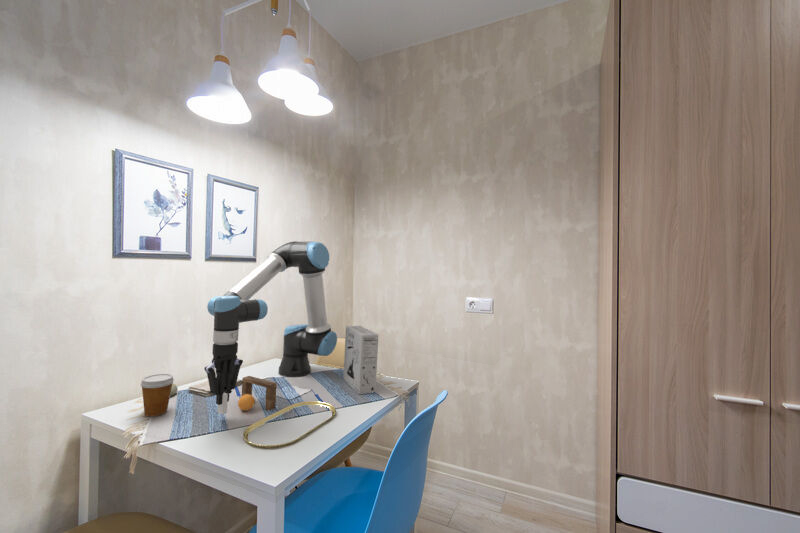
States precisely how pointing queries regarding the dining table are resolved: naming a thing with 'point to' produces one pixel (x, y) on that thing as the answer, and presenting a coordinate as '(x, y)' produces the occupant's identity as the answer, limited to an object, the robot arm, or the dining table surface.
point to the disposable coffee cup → (156, 393)
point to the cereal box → (360, 359)
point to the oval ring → (282, 413)
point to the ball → (246, 402)
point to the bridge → (269, 385)
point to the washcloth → (206, 388)
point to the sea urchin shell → (173, 389)
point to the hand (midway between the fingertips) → (222, 412)
